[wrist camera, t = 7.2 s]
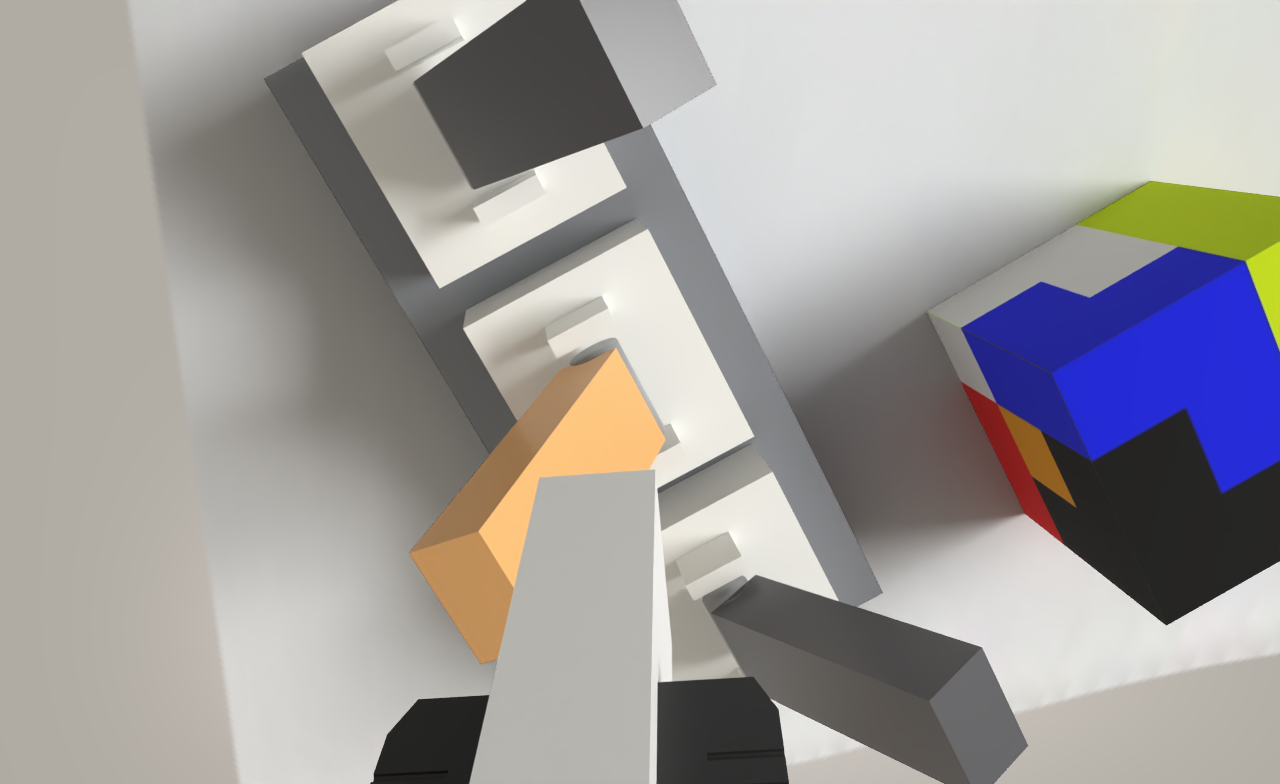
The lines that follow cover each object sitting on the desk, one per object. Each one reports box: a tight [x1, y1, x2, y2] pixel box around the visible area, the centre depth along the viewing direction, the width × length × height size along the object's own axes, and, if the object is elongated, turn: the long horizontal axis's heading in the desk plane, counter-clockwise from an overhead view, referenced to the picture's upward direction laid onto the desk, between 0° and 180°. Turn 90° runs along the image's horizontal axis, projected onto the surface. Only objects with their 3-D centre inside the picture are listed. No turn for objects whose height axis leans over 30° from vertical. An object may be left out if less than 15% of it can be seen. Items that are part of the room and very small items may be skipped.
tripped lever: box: [409, 338, 666, 664], centre depth 28 cm, size 2×3×11 cm, turn 28°
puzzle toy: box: [927, 181, 1280, 625], centre depth 38 cm, size 10×10×10 cm
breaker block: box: [264, 0, 1028, 784], centre depth 32 cm, size 10×26×18 cm, turn 27°
